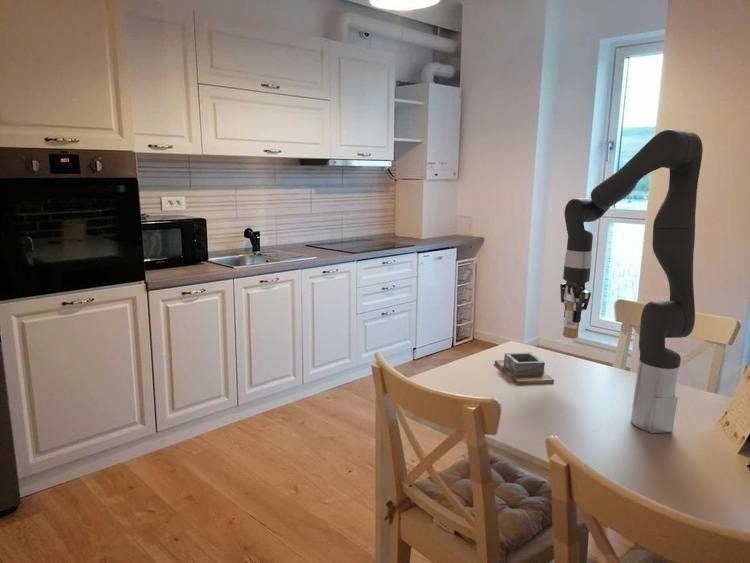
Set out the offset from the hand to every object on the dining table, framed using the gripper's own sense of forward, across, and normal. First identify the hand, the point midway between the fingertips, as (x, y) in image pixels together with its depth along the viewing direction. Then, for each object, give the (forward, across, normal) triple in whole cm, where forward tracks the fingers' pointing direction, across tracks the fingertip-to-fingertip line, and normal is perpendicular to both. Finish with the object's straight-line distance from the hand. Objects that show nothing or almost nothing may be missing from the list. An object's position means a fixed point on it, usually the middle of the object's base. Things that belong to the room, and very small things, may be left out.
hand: (571, 319), depth 166 cm
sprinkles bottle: (+6, 0, 0) cm, 6 cm away
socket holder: (+20, +7, +11) cm, 24 cm away
